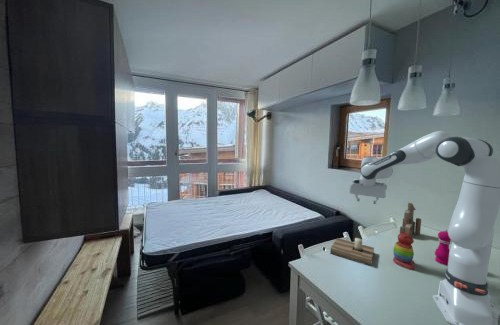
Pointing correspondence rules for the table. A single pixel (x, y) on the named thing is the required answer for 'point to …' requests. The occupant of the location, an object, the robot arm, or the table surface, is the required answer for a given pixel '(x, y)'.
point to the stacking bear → (404, 251)
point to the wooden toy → (410, 222)
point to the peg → (358, 244)
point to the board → (352, 251)
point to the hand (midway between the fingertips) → (366, 202)
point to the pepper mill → (443, 248)
